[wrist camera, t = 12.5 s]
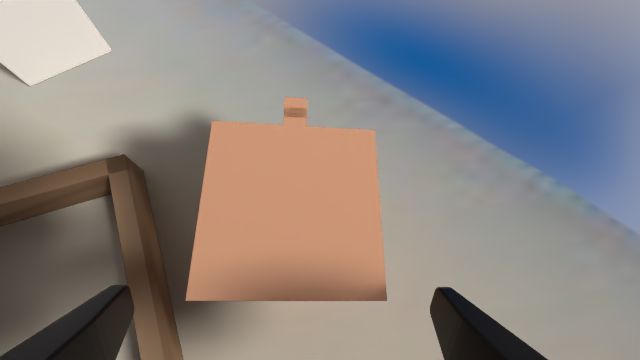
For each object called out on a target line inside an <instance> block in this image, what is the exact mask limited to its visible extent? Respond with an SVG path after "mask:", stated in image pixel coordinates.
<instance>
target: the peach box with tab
mask: <svg viewBox="0 0 640 360" xmlns="http://www.w3.org/2000/svg"><path fill="white" fill-rule="evenodd" d="M186 301H387V294H386V280H385V266H384V252H383V237H382V223H381V209H380V195H379V181H378V167H377V153H376V139H375V130H360V129H343V128H326V127H308V126H307V99H304V98H289V97H285V105H284V124H283V125H273V124H256V123H239V122H221V121H212V125H211V132H210V139H209V145H208V152H207V159H206V166H205V172H204V179H203V186H202V193H201V199H200V206H199V213H198V220H197V226H196V233H195V240H194V247H193V253H192V260H191V267H190V274H189V280H188V287H187V294H186Z"/></svg>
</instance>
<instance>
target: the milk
mask: <svg viewBox="0 0 640 360" xmlns="http://www.w3.org/2000/svg"><path fill="white" fill-rule="evenodd" d="M109 52H111V49H110V47H109V46H108V44H107V43H106V41H105V40H104V39H103V37H102V36H101V34H100V33H99V32H98V30H97V29H96V27H95V26H94V25H93V23H92V22H91V20H90V19H89V18H88V16H87V15H86V13H85V12H84V11H83V9H82V8H81V6H80V5H79V3H78V2H77V1H76V0H0V63H1V64H2V65H4V66H5V67H6V68H7V69H9V70H10V71H11V72H12V73H14V74H15V75H16V76H17V77H19V78H20V79H21V80H22V81H24V82H25V83H26V84H27V85H29V86H33V85H35V84H37V83H40V82H42V81H44V80H47V79H49V78H51V77H53V76H56V75H58V74H60V73H63V72H65V71H67V70H70V69H72V68H74V67H77V66H79V65H81V64H83V63H86V62H88V61H90V60H93V59H95V58H97V57H100V56H102V55H104V54H107V53H109Z"/></svg>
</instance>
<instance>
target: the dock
mask: <svg viewBox="0 0 640 360" xmlns="http://www.w3.org/2000/svg"><path fill="white" fill-rule="evenodd" d="M109 194H112V198H113V204H114V210H115V215H116V221H117V227H118V232H119V238H120V244H121V250H122V255H123V261H124V267H125V272H126V278H127V284H128V286H129V287H130V290H131V294H132V299H133V303H134V314H133V318H134V324H135V330H136V335H137V341H138V347H139V353H140V358H141V360H183V355H182V351H181V346H180V341H179V337H178V332H177V327H176V323H175V318H174V313H173V309H172V304H171V299H170V295H169V290H168V285H167V281H166V276H165V271H164V267H163V262H162V257H161V253H160V248H159V243H158V239H157V234H156V229H155V225H154V220H153V215H152V211H151V206H150V201H149V196H148V192H147V187H146V182H145V178H144V173H143V170H142V169H141V168H139V167H138V166H137V165H136V164H135V163H134V162H132V161H131V160H130V159H129V158H128V157H127V156H125V155H120V156H116V157H113V158H109V159H105V160H101V161H98V162H94V163H90V164H86V165H83V166H79V167H75V168H71V169H68V170H64V171H60V172H56V173H52V174H49V175H45V176H41V177H37V178H34V179H30V180H26V181H22V182H19V183H15V184H11V185H7V186H4V187H0V226H2V225H6V224H9V223H13V222H16V221H20V220H23V219H26V218H30V217H33V216H37V215H40V214H44V213H47V212H51V211H54V210H57V209H61V208H64V207H68V206H71V205H75V204H78V203H82V202H85V201H88V200H92V199H95V198H99V197H102V196H106V195H109Z"/></svg>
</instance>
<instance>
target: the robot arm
mask: <svg viewBox="0 0 640 360" xmlns="http://www.w3.org/2000/svg"><path fill="white" fill-rule="evenodd" d="M133 314H134V303H133V299H132V294H131V290H130V287H129V286H127V285H112V286H110V287H108V288H107V289H105V290H104V291H102V292H100V293H99V294H97V295H96V296H94V297H93V298H91V299H89V300H88V301H86V302H85V303H83V304H82V305H80V306H79V307H77V308H75V309H74V310H72V311H71V312H69V313H68V314H66V315H64V316H63V317H61V318H60V319H58V320H57V321H55V322H54V323H52V324H50V325H49V326H47V327H46V328H44V329H43V330H41V331H39V332H38V333H36V334H35V335H33V336H32V337H30V338H29V339H27V340H25V341H24V342H22V343H21V344H19V345H18V346H16V347H14V348H13V349H11V350H10V351H8V352H7V353H5V354H4V355H2V356H0V360H116V357H117V355H118V352H119V350H120V347H121V345H122V342H123V340H124V337H125V335H126V332H127V330H128V327H129V325H130V322H131V320H132V317H133ZM430 314H431V318H432V321H433V324H434V327H435V331H436V334H437V337H438V341H439V344H440V347H441V351H442V354H443V357H444V360H548V359H546V358H545V357H544V356H542V355H541V354H540V353H538V352H537V351H536V350H534V349H533V348H532V347H530V346H529V345H527V344H526V343H525V342H523V341H522V340H521V339H519V338H518V337H517V336H515V335H514V334H513V333H511V332H510V331H509V330H507V329H506V328H505V327H503V326H502V325H501V324H499V323H498V322H497V321H495V320H494V319H492V318H491V317H490V316H488V315H487V314H486V313H484V312H483V311H482V310H480V309H479V308H478V307H476V306H475V305H474V304H472V303H471V302H470V301H468V300H467V299H466V298H464V297H463V296H461V295H460V294H459V293H457V292H456V291H455V290H453V289H452V288H450V287H438V288H436V290H435V292H434V296H433V299H432V302H431V305H430Z"/></svg>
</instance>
